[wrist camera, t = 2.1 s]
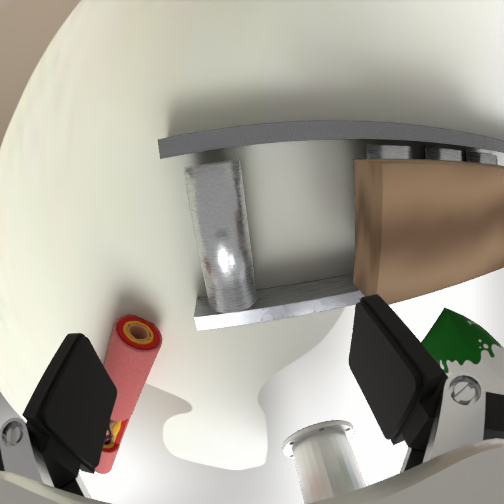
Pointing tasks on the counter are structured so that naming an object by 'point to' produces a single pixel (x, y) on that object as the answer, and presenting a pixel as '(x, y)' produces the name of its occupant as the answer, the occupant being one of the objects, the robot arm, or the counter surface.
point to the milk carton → (466, 350)
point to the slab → (425, 225)
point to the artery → (127, 376)
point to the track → (331, 289)
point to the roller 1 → (222, 234)
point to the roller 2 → (388, 152)
